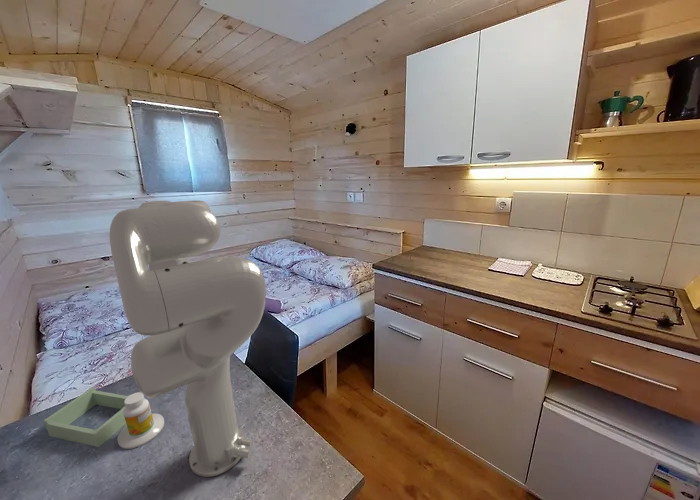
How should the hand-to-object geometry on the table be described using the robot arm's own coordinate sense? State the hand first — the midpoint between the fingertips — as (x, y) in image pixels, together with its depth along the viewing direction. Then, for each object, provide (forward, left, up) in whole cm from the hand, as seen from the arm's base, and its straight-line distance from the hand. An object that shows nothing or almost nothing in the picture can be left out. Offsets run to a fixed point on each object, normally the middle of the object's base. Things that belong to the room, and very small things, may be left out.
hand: (178, 311), depth 81 cm
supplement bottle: (+5, +13, -28) cm, 31 cm away
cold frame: (+20, +13, -28) cm, 37 cm away
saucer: (+6, +13, -28) cm, 32 cm away
